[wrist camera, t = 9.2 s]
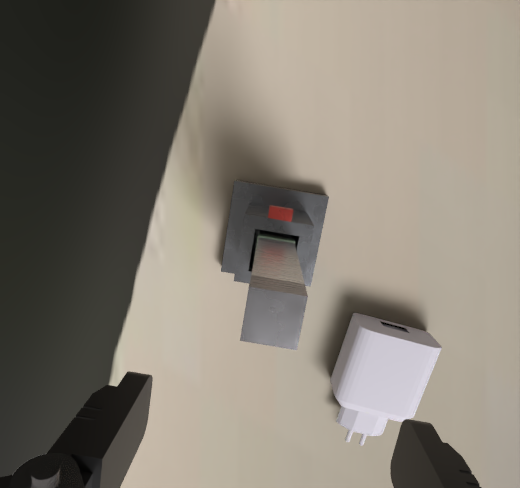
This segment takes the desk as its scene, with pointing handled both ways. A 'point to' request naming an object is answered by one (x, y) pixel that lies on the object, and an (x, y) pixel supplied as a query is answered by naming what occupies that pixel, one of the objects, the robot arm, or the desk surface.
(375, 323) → the charger
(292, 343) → the column
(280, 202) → the stand
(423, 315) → the desk surface
